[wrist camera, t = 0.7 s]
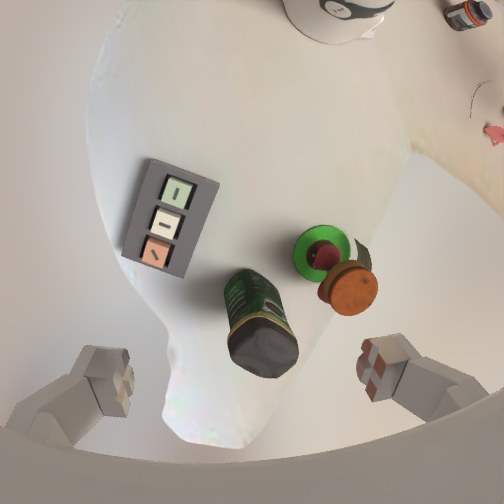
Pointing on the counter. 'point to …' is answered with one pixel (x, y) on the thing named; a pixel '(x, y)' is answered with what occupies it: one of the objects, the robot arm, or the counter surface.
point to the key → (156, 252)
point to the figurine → (494, 130)
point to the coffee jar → (258, 327)
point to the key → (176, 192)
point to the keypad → (190, 217)
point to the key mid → (165, 223)
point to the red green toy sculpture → (336, 269)
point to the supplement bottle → (468, 15)
